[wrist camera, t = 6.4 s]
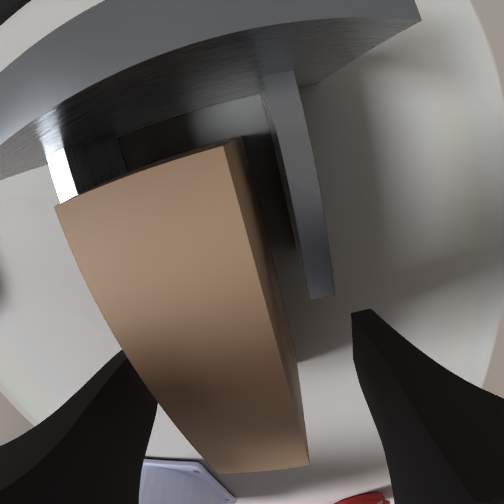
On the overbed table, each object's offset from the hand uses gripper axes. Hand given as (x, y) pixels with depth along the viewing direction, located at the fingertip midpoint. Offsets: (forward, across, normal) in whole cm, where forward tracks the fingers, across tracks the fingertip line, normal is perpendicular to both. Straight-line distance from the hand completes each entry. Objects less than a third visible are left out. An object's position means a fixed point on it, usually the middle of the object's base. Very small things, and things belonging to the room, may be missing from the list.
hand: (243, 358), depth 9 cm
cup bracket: (+2, 0, -5) cm, 5 cm away
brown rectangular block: (+2, 0, -2) cm, 3 cm away
